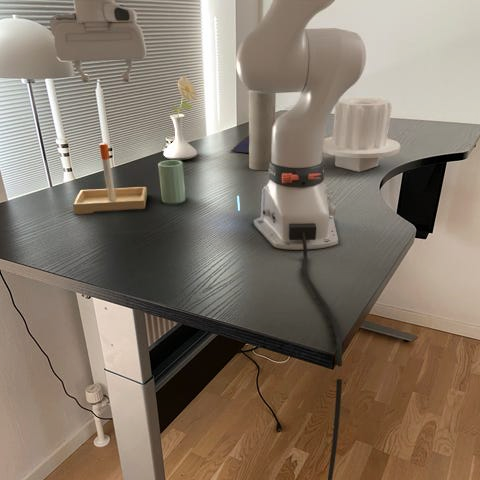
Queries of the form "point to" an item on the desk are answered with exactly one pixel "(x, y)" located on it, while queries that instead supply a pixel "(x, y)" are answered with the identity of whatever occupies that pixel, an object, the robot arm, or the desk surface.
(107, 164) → the marker
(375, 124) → the flanged gear
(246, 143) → the blue flat triangle
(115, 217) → the desk surface
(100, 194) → the tray
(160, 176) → the pen cup
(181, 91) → the flower in vase
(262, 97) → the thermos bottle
